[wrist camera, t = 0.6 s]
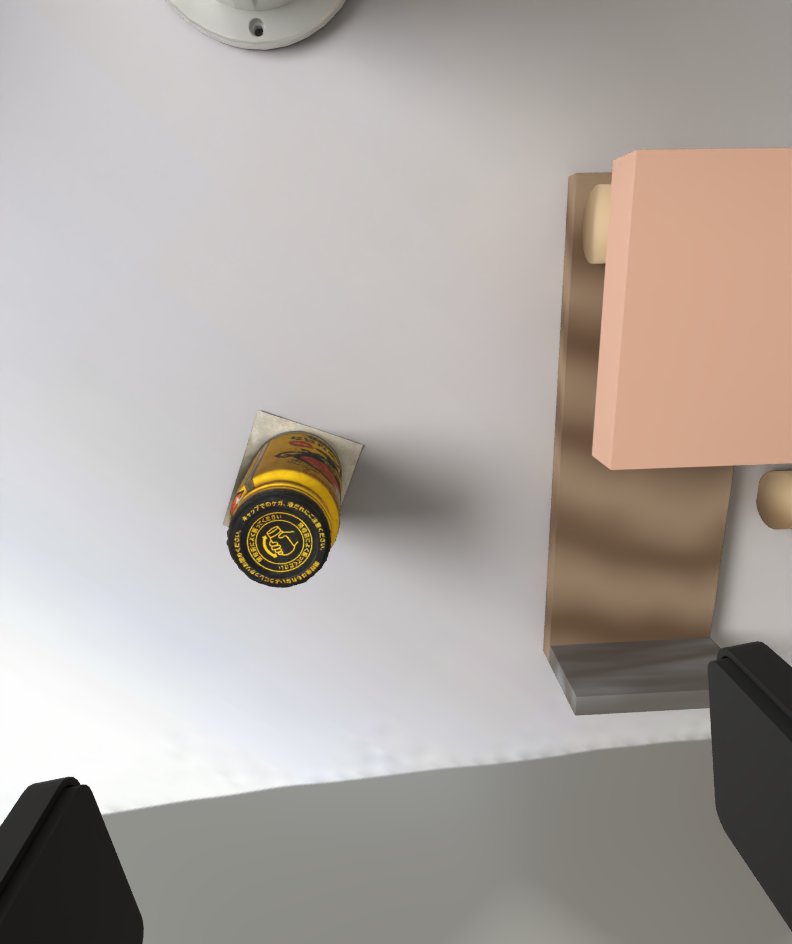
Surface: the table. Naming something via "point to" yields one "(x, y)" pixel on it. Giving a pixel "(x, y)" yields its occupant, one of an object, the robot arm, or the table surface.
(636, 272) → the pink toy brick
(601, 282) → the track
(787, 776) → the robot arm
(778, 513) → the roller
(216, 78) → the table surface
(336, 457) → the condiment
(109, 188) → the table surface
